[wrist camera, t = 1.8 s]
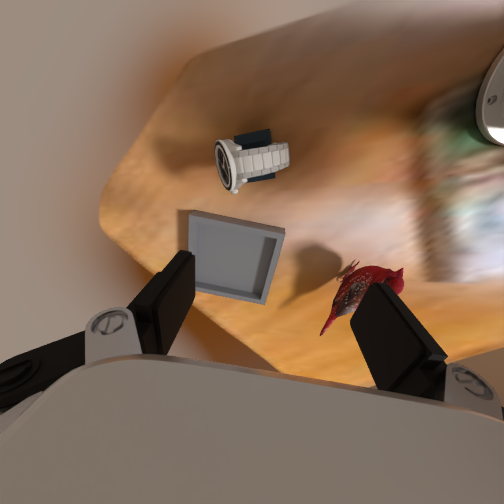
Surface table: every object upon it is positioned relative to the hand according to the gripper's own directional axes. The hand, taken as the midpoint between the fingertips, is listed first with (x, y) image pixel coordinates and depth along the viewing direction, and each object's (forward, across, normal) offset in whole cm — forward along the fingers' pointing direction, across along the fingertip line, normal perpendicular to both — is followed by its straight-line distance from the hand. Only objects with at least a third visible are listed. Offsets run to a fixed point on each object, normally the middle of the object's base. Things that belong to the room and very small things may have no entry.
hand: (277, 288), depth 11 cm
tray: (+22, +5, +12) cm, 26 cm away
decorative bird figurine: (+22, -15, +13) cm, 30 cm away
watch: (+22, +3, -5) cm, 23 cm away
